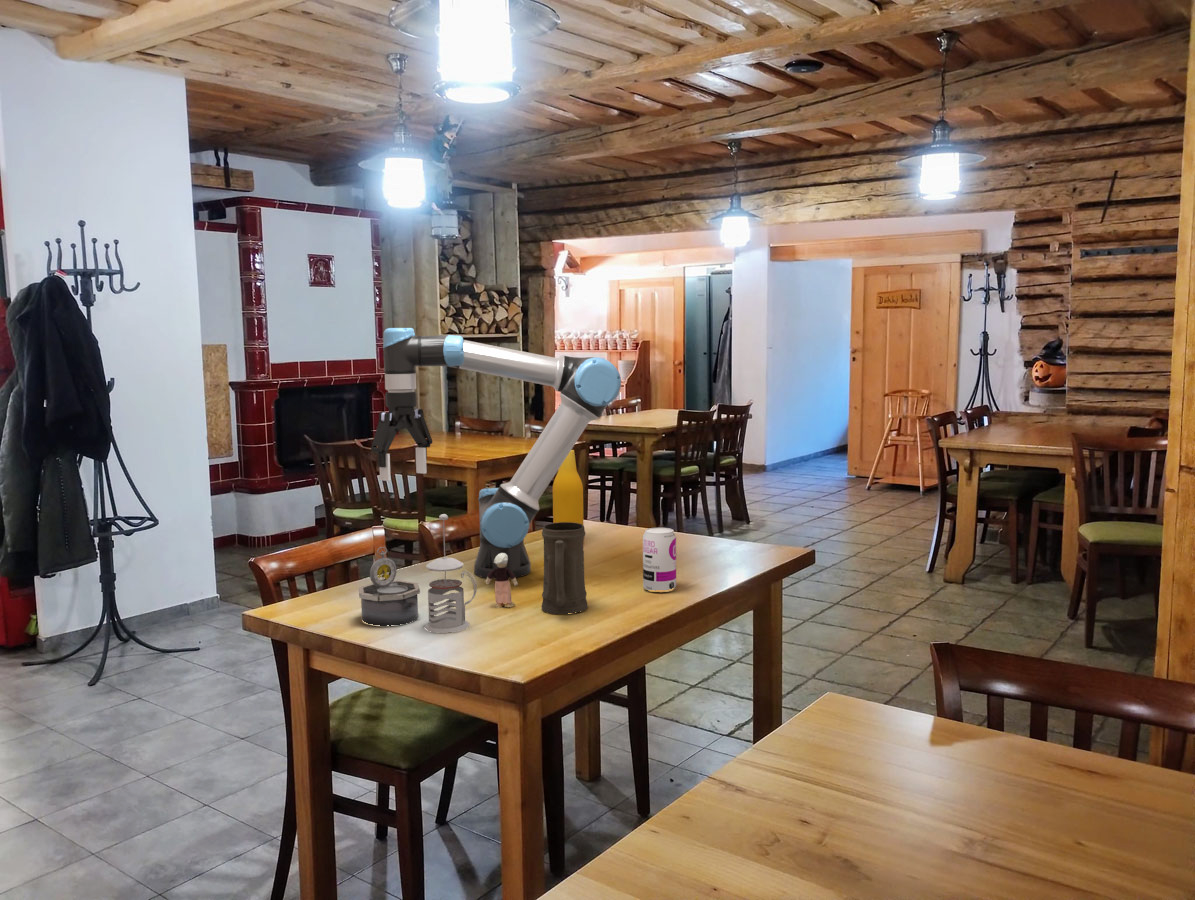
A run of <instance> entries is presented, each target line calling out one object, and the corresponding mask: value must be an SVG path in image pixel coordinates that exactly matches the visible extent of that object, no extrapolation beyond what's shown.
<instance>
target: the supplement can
mask: <svg viewBox="0 0 1195 900" xmlns="http://www.w3.org/2000/svg"><path fill="white" fill-rule="evenodd" d="M642 587H643V589H644V590H646V589H647V590H655V591H656V590H669V589H672V588H675V587H676V588H677V535H676V534H675V532H674V529H672V528H669V527H651V528H646V529H645V530H644V533H643V535H642ZM676 588H675V589H676Z"/></svg>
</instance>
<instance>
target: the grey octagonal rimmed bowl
mask: <svg viewBox="0 0 1195 900" xmlns="http://www.w3.org/2000/svg"><path fill="white" fill-rule="evenodd" d="M392 585H400V586H405V587H407V588H408V590H407V592H405V593H402V594H392V595H380V594H378V592H377V590H378V589H379V588H380V587H378V586H376V585H375V584H373V582H371V583H368V584H365V585H363V586H360V587H358V596H359V599H360V603H361V621H362V620H363V621H364V622H366V623H368V624H373V625H380V626H387V625H389V626H390V627H392V626H391V625H399V626H401V625H400V624H404V625H407V624H406V623H408V624H410V622H411V623H413V622H415V621H416V620H418V618H419V605H418V604H419V602H418V594H419V595H420V594H421V588H420V586H419V583H418V582H415V581H406V580H400V579H398V580H397V579H396V580H393V582H392V583H391V584H390V585H389V586H392ZM414 620H415V621H414ZM412 621H413V622H412Z"/></svg>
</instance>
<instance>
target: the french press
mask: <svg viewBox="0 0 1195 900" xmlns="http://www.w3.org/2000/svg"><path fill="white" fill-rule="evenodd" d="M438 518H439V519H438V520H439V521H442V525H443V528H442V529H443V555H444V556H443V557H438V558H435V559H434V560H432V561H430V562H429V563H427V564H426V566H425V568H426V569H428V570H429V571H433V572H444V578H441V579H439V578H438V579H435V580H432V581H431V582H429V584H428V585H429V587H430V588H428V590H427V599H428V600H427V602H428V605H427V607H428V609H427V610H428V621H427V623H426V624H425V625H424V628H426V629H427V630H428V631H427V630H426V629H425V630H426V631H427V632H430V631H431V632H430V633H434V632H440V633H439V634H448V632H452V633H457V632H456V631H458V632H461V631H464V630H466V629H468V628H469V627H470V623H469V622H468V621H467V620H466V605H468V604H470V603H471V602H472V601H473V599H475V597H476V594H477V585H478V584H477V580H476V578H475V577H474V575H473V574H472V573H470V572H469V571H467V570H463V571H462V572H461V574H460V578H461V579H464V576H465V575H466V576H467V577H468V578H470V581H471V583H472V585H473V595H472V597H471V599H469V600H467V601H465V599H464V598H465V597H464V587H462V585H463V581H461V580H460V579H455V578H454V579H453V578H447V576H446V573H447V572H453V571H457V570H460V569H462V568H463V566H464V563H463V562H462V561H460V560H458V559H456V558H454V557H447V556H446V543H445V541H446V540H445V539H446V538H445V535H446V534H445V521H446V520H448V519H449V516H448V515H447V514H446V513H443V514H440V515H439V517H438ZM451 591H456V592H452V593H451ZM448 592H450V593H449V594H448ZM444 600H446V601H444ZM442 601H444V602H442ZM439 602H441V603H439ZM435 603H439V604H435ZM444 606H445V607H444ZM442 607H443V608H442ZM440 608H441V609H440ZM435 609H439V610H435ZM444 612H445V613H444ZM441 613H442V614H441ZM438 614H440V615H438ZM463 629H464V630H463Z"/></svg>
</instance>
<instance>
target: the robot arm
mask: <svg viewBox="0 0 1195 900" xmlns="http://www.w3.org/2000/svg"><path fill="white" fill-rule="evenodd" d="M382 338H383V339H382V340H383V341H382V342H383V347H382V349H383V365H384V366H383V369H384V389H385V390H386V391H387V392H385V394H384V395H385V401H384V402H385V406H386V408H387V409H388V412H379V414H378V422H377V426H376V430H375V434H374V437H373V440H372V443H371V447H370V451H371V452H372V453H374V454H377V466H378V468H379V481H385V482H391V478H392V477H391V457H390V455H391V453H388V452H389V450H390V447H391V445H392V443H393V441H394V440H395V437H396V435H397V433H398V432H400V430H405V429H406V430H407V431H408V432H409V434H410V436H411V437H412V439H413V440H414V442H415V444H416V445H417V447H415V467H416V469H415V470H416V472H415V473H416V474H423V475H425V474H427V472H428V471H427V469H428V468H427V460H428V454H427V453H428V450H427V448H430V447H431V445H432V444H433V438H432V436H431V434H430V433H431V432H430V431H429V428H428V425H427V422H426V420H425V416H424V415H425V414H424V410H423V408H415V407H417V403H418V402H417V401H418V398H417V392H416V391H415V390H416V389H417V373H416V372H417V371H416V369H417V368H416V367H448V368H454V369H461V370H466V371H473V372H477V373H481V374H486V375H487V374H488V375H493V376H497V377H502V378H505V379H506V378H507V379H513V380H519V381H523V382H528V383H532V384H539V385H544V386H548V387H552V388H553V389H554V390H555V391H556V392H559V395H560V396H559V397H560V404H559V405H558V407H557V409H556V410H555V412H554V413H553V415H552V416H551V418H550V419H549V420H548V422H547V424H546V425H545V427H544V428H543V430H542V432H541V433H540V435H539V437H537V439H536V441H535V442H534V444H533V446H532V447H531V449H530V450H529V451H528V453H527V455H526V456H525V458H524V460H523V461H522V462H521V463H520V465H519V467H518V469H517V470H516V472H515V474H513V476H512V478H511V479H510V481H508V482H504V483H501V484H500V485H499V487H492V488H491V487H490V488H489V487H486V488H481V490H479V492H478V493H479V494H478V496H479V497H478V498H477V499H478V505H479V507H478V508H479V510H478V511H479V513H478V514H479V541H480V542H479V544H480V545H479V548H478V552H477V554H476V558H475V561H474V565H473V566H474V567H473V570H474V575H475V576H477V577H481V578H484V579H487V577H488V576H487V575H488V574H489V573H490V572H491V571H492V570H494V569H497V568H499V567H498V566H497V564H495V563H494V559H495V558H496V556H497V555H498V554H500V553H505V554H506V555H507V556H508V563H507V566H506V567H505V568H506V569H509V570H511V571H512V572H513V574H514V575H515V577H516V578H519V577H520V578H521V577H523V576H526V575H528V574H530V573H531V572H532V565H531V560H530V558H529V554H528V552H527V549H526V546H525V542H524V541H525V538H526V536H527V535H528V532H529V528H530V525H531V523H532V522H533V520H534V518H535V517H536V515H537V514H538V513H539V511H540V504H539V501H540V498H541V497H542V495H543V494H544V492H545V490H546V489H547V488H548V487H549V485H550V483H551V481H552V480H553V478H555V475H557V473H558V469H559V468H560V466H561V465H562V463H563V461H564V460H565V458H566V457H567V455H568V454H569V452H570V451H571V450H573V448H574V446H575V445H576V443H577V442H578V440H579V438H580V437H581V435H582V434H583V432H584V431H585V429H586V428H587V426H588V424H589V423H590V422H591V421H596V420H599V419H600V418H601V415H602V414H603V413H604V411H605V409H606V408H607V406H608V405H610V404H611V403H612V402H614V401H615V399H616V398H617V397H618V395H619V393H620V392H621V388H622V379H621V374H620V372H619V370H618V368H617V367H616V365H614V364H613V363H612V362H611V361H610V360H607V359H605V358H603V357H596V356H595V357H594V356H593V357H592V356H591V357H589V356H588V357H576V356H568V355H564V354H563V355H561V356H559V357H553V356H548V355H543V354H537V353H533V352H527V351H524V350H523V351H521V350H517V349H512V348H507V347H502V346H496V345H491V344H486V343H482V342H476V341H472V340H467V339H464V337H463V336H461V335H453V334H447V335H442V334H439V335H416V334H415V330H414V328H413V327H388V328H386V329H385V330H384V331H383V337H382ZM508 578H509V577H508ZM494 579H495V580H496V578H494ZM509 579H510V578H509Z"/></svg>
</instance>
